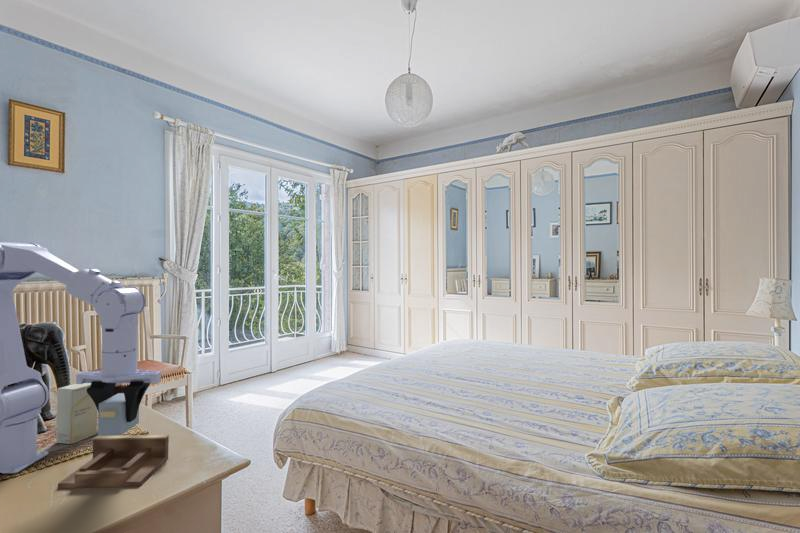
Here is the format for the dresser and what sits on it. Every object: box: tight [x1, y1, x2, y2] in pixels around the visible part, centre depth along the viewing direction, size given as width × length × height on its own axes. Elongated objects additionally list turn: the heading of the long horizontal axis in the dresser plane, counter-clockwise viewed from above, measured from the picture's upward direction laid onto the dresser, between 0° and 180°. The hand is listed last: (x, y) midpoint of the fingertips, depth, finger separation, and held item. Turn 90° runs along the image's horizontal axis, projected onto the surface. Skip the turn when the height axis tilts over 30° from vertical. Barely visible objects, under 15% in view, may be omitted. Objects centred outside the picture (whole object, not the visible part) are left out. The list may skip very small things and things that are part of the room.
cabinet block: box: [97, 393, 140, 436], centre depth 78 cm, size 4×7×6 cm, turn 5°
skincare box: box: [55, 383, 98, 445], centre depth 92 cm, size 6×4×12 cm
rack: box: [57, 434, 170, 489], centre depth 78 cm, size 14×10×5 cm
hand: (118, 420), depth 78 cm, fingers closed on cabinet block, 4 cm apart
